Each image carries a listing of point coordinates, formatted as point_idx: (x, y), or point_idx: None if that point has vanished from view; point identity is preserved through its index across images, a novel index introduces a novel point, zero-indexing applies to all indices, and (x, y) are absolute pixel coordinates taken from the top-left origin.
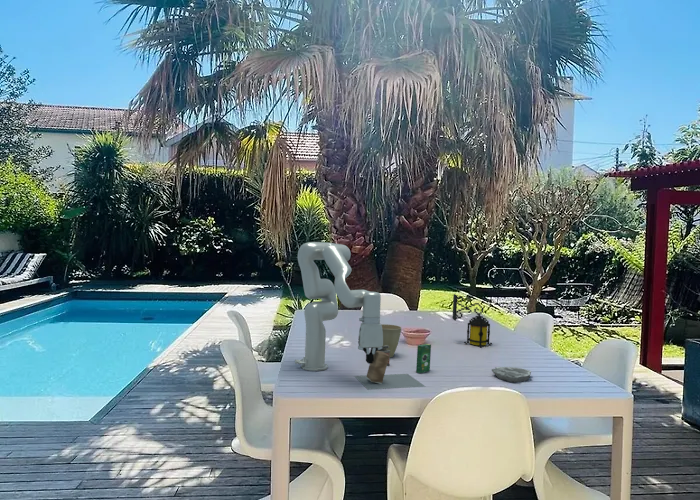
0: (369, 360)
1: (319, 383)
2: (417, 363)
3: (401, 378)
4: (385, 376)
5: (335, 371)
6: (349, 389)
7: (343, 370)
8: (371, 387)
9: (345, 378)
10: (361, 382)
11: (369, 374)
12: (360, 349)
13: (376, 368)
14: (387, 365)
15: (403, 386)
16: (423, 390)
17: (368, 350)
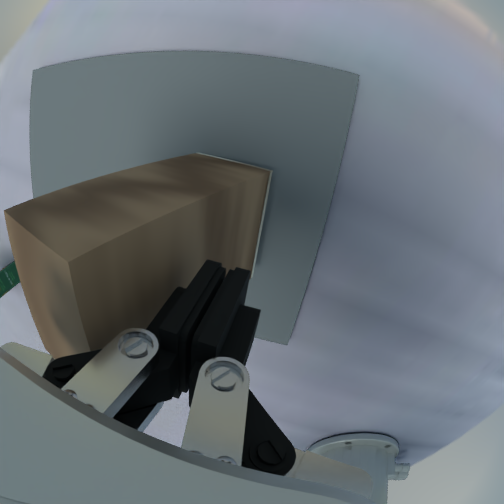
0: (236, 288)
1: (488, 321)
2: (2, 290)
3: None
4: None
5: (312, 417)
6: (443, 168)
7: (273, 415)
8: (310, 102)
9: (336, 345)
10: (316, 231)
11: (245, 248)
12: (342, 468)
13: (197, 188)
14: None
15: (105, 76)
16: (56, 41)
17: (207, 413)
